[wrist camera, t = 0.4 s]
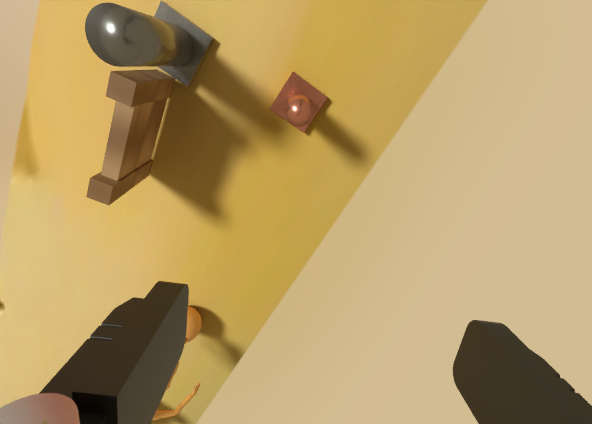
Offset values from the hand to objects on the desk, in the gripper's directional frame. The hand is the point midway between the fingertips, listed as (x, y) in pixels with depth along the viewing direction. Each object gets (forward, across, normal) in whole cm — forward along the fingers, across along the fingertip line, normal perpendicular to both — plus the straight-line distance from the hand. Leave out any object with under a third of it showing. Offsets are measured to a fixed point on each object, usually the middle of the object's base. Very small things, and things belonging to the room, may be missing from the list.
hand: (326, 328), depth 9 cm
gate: (+21, +14, -3) cm, 26 cm away
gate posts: (+22, +7, -8) cm, 24 cm away
